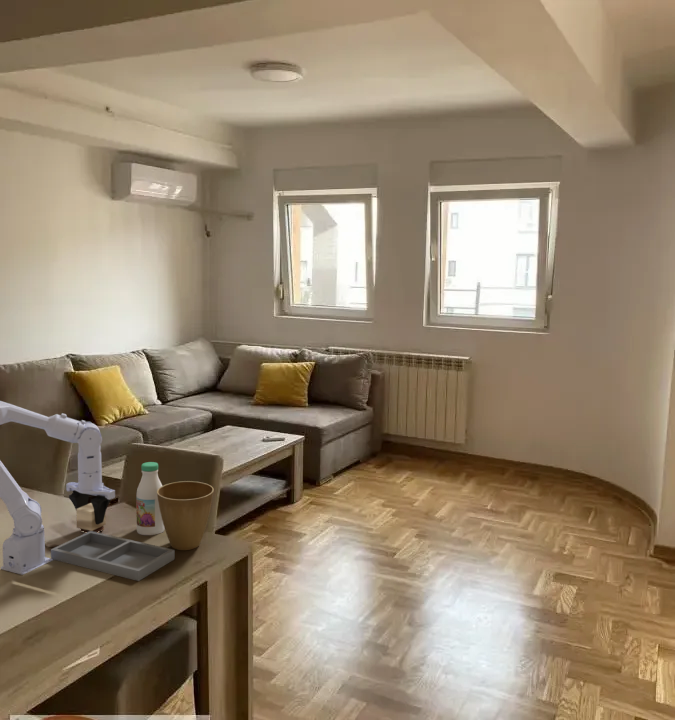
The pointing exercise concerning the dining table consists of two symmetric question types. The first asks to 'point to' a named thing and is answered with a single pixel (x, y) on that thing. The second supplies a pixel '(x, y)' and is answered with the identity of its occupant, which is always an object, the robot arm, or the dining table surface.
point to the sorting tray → (113, 555)
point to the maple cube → (87, 518)
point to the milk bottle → (148, 501)
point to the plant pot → (185, 512)
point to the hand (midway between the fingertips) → (91, 521)
